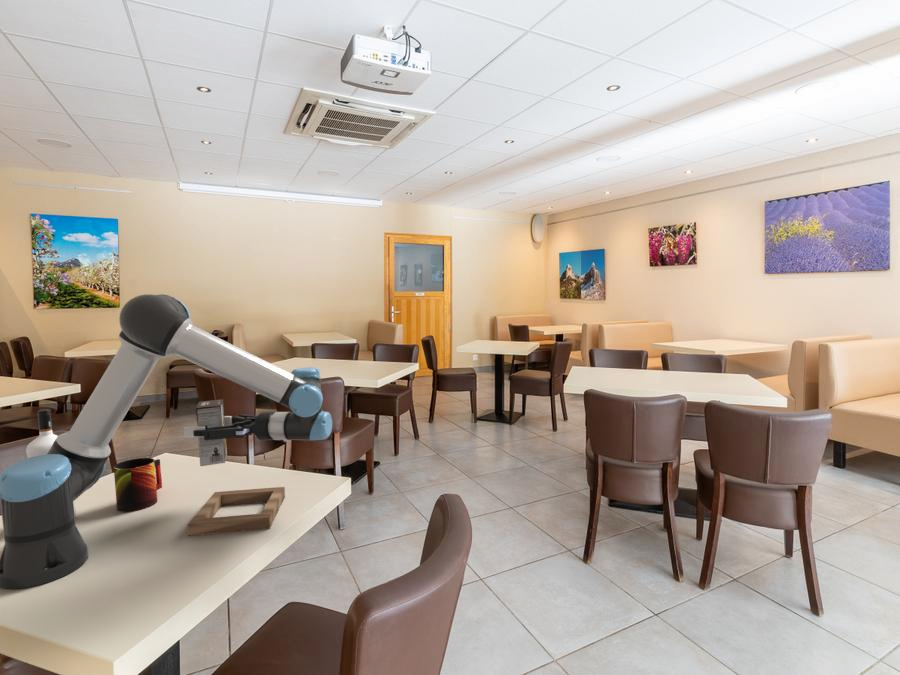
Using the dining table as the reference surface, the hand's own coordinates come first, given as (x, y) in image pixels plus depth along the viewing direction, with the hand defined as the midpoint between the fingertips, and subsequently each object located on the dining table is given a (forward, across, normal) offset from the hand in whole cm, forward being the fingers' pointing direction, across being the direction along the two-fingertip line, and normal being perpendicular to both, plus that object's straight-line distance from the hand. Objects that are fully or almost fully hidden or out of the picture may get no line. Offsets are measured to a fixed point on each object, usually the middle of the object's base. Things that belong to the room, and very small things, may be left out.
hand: (197, 426), depth 135 cm
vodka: (+34, -12, -22) cm, 42 cm away
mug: (+20, +1, -23) cm, 30 cm away
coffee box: (-4, 0, -10) cm, 11 cm away
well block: (-14, -6, -22) cm, 27 cm away
